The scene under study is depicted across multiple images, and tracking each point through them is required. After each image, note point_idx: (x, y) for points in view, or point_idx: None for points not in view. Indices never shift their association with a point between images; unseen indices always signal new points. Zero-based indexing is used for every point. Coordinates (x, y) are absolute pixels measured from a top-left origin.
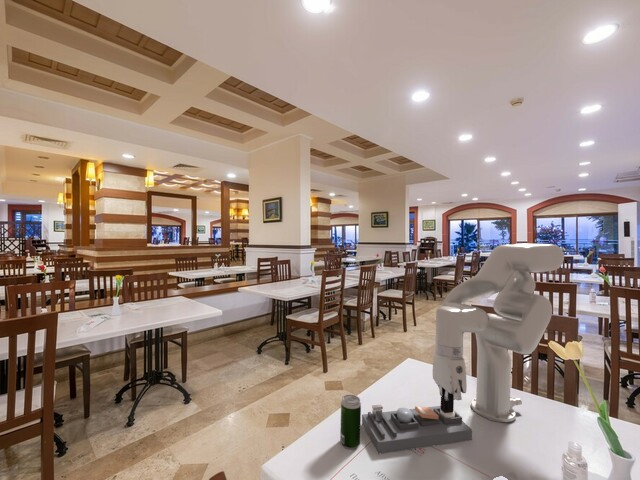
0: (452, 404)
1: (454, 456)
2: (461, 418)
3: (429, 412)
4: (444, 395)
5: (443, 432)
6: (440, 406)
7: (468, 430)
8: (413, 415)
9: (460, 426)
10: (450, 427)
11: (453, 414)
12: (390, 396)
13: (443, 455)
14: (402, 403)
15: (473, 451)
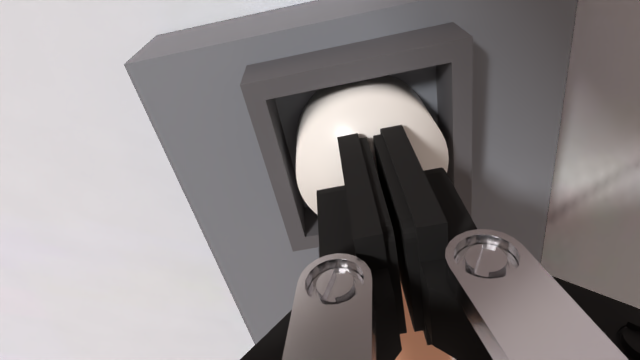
0: (467, 213)
1: (616, 166)
2: (467, 42)
3: (419, 336)
4: (398, 348)
5: (535, 233)
6: (164, 123)
7: (572, 13)
8: None
9: (503, 70)
10: (497, 165)
11: (444, 139)
12: (15, 328)
13: (586, 217)
14: (81, 286)
15: (633, 17)
